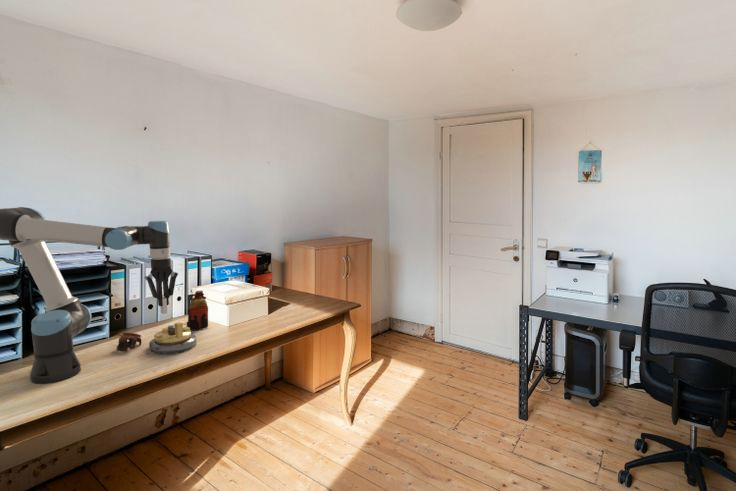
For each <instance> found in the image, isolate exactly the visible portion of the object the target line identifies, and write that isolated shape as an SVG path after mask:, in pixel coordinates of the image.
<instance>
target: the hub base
mask: <svg viewBox="0 0 736 491" xmlns="http://www.w3.org/2000/svg"><path fill="white" fill-rule="evenodd" d="M167 327H168V334H175V324H173V325H169V326H167ZM196 345H197V336H196V334H195V333H191V339H189V340H188V341H186V342H183V343H179V344H174V345H158V344H156V343H155V342H154V338H152V339H151V340H150V341H149V351H150V352H151V353H152V354H155V355H174V354H175V355H176V354H178V353H179V354H180V353H182V352H186V351H189V350H191V349H193V348H195V347H196Z"/></svg>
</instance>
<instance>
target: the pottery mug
mask: <svg viewBox="0 0 736 491" xmlns="http://www.w3.org/2000/svg"><path fill="white" fill-rule="evenodd" d="M117 343H118V344H117V346H116V351H118V352H123V353H125V352H126V353H127V352H128V349H129V350H133V349H135V348H136V344H137V343H138V345H139V346H141V345H142V335H141V334H139V333H134V332H123V333H122V335H121V336H119V338H118V342H117Z"/></svg>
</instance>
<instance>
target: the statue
mask: <svg viewBox="0 0 736 491" xmlns="http://www.w3.org/2000/svg"><path fill="white" fill-rule="evenodd" d="M206 299H207V296H205V294H204V291H203V290H197V291H196V290H195V291H194V297H192V298H191V302H190V305H189V308H188V309H187V322H186V327H189V328H190V330H191V332H192V331H198V330H203V329H206V328H208V326H209V305H208V303H207V300H206Z"/></svg>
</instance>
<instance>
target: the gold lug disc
mask: <svg viewBox="0 0 736 491" xmlns="http://www.w3.org/2000/svg"><path fill="white" fill-rule="evenodd" d="M183 324H184V323H183V322H181V321H179V322H175V323H174V325H175V334H168V327H169V326H167V327H163V328H162V329H161V331H158V332H156V333H155V334H154V335H153V336H154V337H153V339H154V342H155V343H156V344H158V345H174V344H179V343H183V342H186V341H188V340H189V339H191V334H192V331H191V330H190V328H189V327H187V326H185V327H184V326H183Z"/></svg>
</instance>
